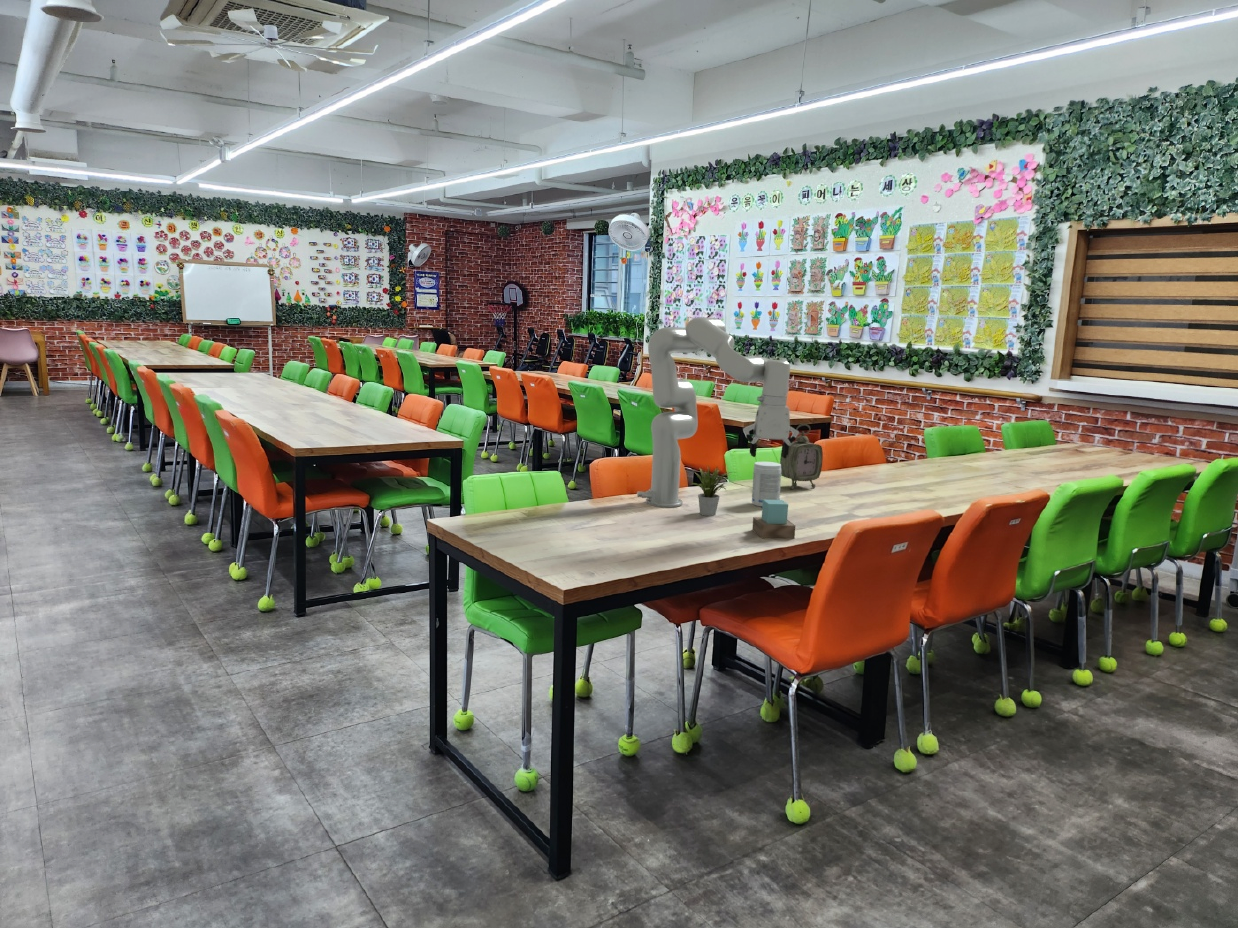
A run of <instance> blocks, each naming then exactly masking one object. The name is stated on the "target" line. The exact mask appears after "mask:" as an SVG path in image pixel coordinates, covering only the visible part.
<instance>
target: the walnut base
mask: <svg viewBox="0 0 1238 928" xmlns="http://www.w3.org/2000/svg"><path fill="white" fill-rule="evenodd" d="M751 530H752V531H753V532H754V533H755V534H756V535H757V536H759V537H760V538H761V539H765V538H794V539H795V536H796V525H795V524H794V523H793V522H791V521H790V520H788V519H787V524H767V523H766V522H765V521H764V520H762V516H760V517H758V516H755V517H752V529H751Z"/></svg>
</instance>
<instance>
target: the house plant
mask: <svg viewBox="0 0 1238 928" xmlns="http://www.w3.org/2000/svg"><path fill="white" fill-rule="evenodd" d="M699 471H700V474H698V473H697V472H695V471H693V473H695V474H696V476H697V478H698V479H699V480H700V482H701V483H696V482H691V483H690V485H694V486H697V487H699V488H700V489H701V490H702V491H703V493H699V494H698V495H697V496H698V497H697V498H698V506H699V514H700V515H701V514H702V516H706V517H712V516H713V517H714V516H716V514H717V511H718V506H719V501H720V499H721V498H720V494H716V493H718V491H720V490H721V489H724V490H727V489H726V488H727V486H725V484H726V482H724V483H720V482H721V480H725V479H727V477H726V476H728V475H729V474H731V473H733V471H731V472H726V473H723V474H722V475H719V472H720V471H721V468H720V469H718V466H716V467H715V469H714V471H713V472H712V474H711V471H710V467H709V465H707V470H705V471H704V470H703V469H702V468H701V467H699Z"/></svg>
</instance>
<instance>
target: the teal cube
mask: <svg viewBox="0 0 1238 928" xmlns="http://www.w3.org/2000/svg"><path fill="white" fill-rule="evenodd" d="M788 511H789V503H787V502H785V501H784V500H783V499H780V500H763V505H762V508H761V517H762V520H764V521H765V522H766V523H767V524H787V520H788V513H789V512H788Z"/></svg>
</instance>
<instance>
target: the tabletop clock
mask: <svg viewBox="0 0 1238 928" xmlns="http://www.w3.org/2000/svg"><path fill="white" fill-rule="evenodd" d="M804 426H805V427H807V428H808V431H807V432H805V431H801V432H799V434H798V435H797V437H796V438H795V441H793V442H792V443H791V445H789V451H788V455H787V457H786V458H783V457H782V456H781V455H780V457H779V464H781V477H784V478H786V479H791V485H790V486H789V488H790V490H794V489H795V487H797V485H798V483H797V482H810V484H811V486H810V487H811V488H812V489H815V487H816V484H815V483H814V482H813V481H816V480H818V479H819V478H820V475H821V473H822V467H823V458H824V457H823V456H824V453H823V447H822V445H820V444H817V443H813V442H810V440H809V438H808V436H807V435H808V434H810V432H811V426H810V425H809V424H806V423H802V424H799V425H798V426H797V427H796V430H797V431H799V430H798V429H799V428H800V427H804ZM781 452H782V449H781V451H780V453H781Z"/></svg>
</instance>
